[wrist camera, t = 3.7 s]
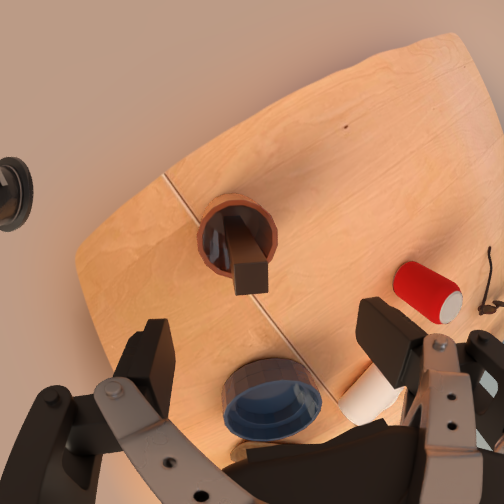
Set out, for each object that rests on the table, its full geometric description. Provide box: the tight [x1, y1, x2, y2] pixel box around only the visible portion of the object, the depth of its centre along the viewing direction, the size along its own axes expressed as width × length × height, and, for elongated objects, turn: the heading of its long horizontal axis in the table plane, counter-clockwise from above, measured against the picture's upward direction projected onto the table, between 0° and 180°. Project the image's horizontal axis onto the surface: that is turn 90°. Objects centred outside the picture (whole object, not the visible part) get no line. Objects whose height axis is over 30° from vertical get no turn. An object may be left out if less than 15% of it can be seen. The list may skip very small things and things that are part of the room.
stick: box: [224, 215, 268, 296], centre depth 25 cm, size 2×2×18 cm
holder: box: [197, 193, 278, 278], centre depth 30 cm, size 7×7×9 cm
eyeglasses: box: [478, 247, 504, 315], centre depth 42 cm, size 15×15×5 cm
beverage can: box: [393, 261, 463, 324], centre depth 34 cm, size 6×6×12 cm
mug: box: [338, 363, 404, 426], centre depth 42 cm, size 12×10×8 cm
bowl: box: [222, 358, 322, 441], centre depth 39 cm, size 15×15×6 cm
